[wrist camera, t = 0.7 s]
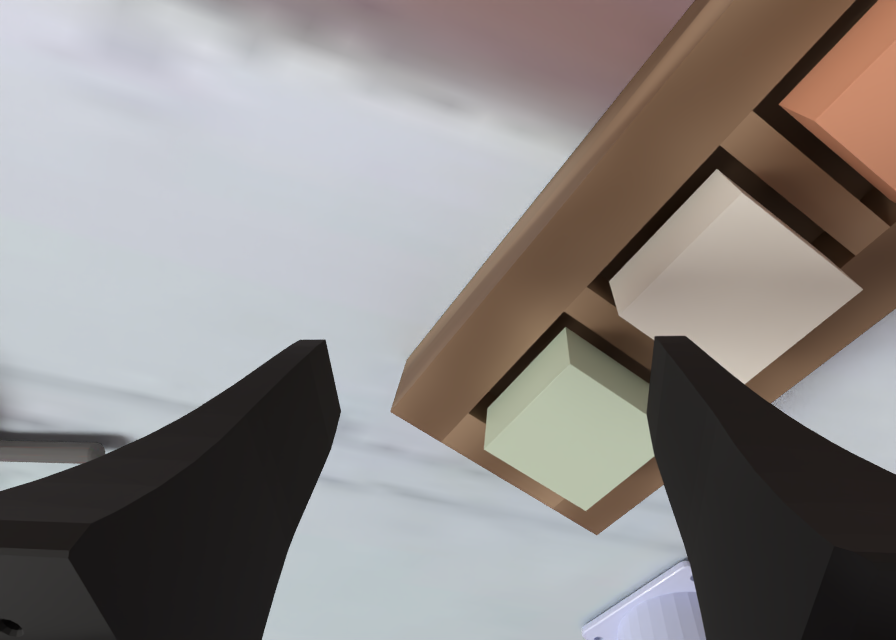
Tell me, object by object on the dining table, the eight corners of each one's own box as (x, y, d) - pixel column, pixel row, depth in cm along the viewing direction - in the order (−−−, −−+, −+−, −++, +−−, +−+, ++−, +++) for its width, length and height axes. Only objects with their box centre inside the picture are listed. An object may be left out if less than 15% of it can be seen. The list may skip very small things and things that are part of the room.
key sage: (664, 394, 20) (679, 436, 18) (580, 466, 22) (585, 510, 20) (565, 326, 19) (570, 363, 17) (487, 408, 21) (483, 449, 19)
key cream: (825, 256, 17) (863, 289, 15) (711, 354, 19) (731, 394, 17) (716, 168, 16) (742, 192, 14) (609, 281, 18) (618, 315, 16)
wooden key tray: (1110, 35, 16) (1241, 46, 13) (588, 473, 27) (596, 535, 24) (870, -218, 14) (960, -272, 11) (406, 359, 25) (390, 411, 22)
